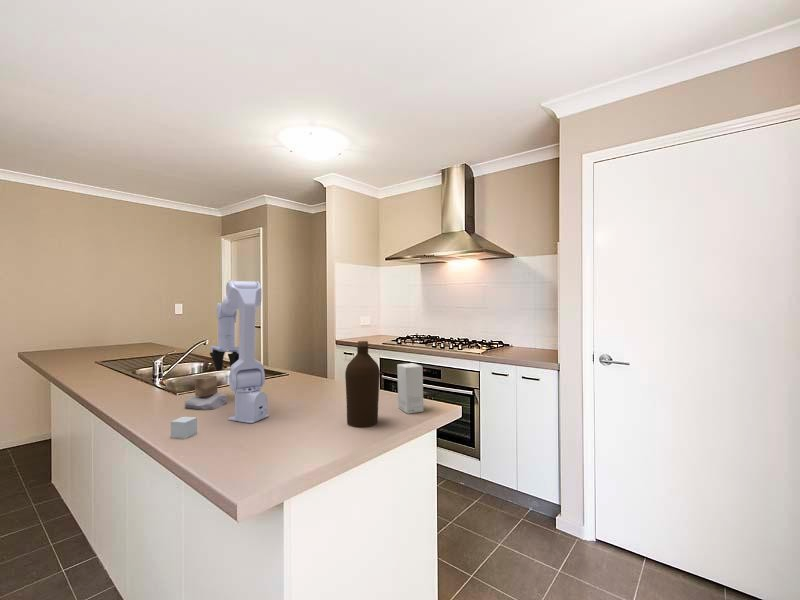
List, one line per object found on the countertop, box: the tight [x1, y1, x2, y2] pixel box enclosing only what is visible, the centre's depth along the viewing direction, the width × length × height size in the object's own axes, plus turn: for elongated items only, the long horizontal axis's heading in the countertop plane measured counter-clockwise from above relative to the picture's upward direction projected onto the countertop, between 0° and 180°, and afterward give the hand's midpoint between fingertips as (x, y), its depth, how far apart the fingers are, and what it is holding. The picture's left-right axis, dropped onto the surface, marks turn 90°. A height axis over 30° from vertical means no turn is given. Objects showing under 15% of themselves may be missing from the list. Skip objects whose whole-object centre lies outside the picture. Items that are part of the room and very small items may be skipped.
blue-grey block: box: [170, 416, 198, 440], centre depth 107 cm, size 4×4×4 cm
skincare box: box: [396, 362, 424, 415], centre depth 132 cm, size 8×7×16 cm
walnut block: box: [193, 375, 219, 396], centre depth 137 cm, size 5×5×6 cm
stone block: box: [184, 392, 227, 411], centre depth 136 cm, size 12×5×10 cm
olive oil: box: [344, 340, 381, 428], centre depth 119 cm, size 11×11×25 cm
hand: (226, 371), depth 145 cm, fingers open, 7 cm apart
